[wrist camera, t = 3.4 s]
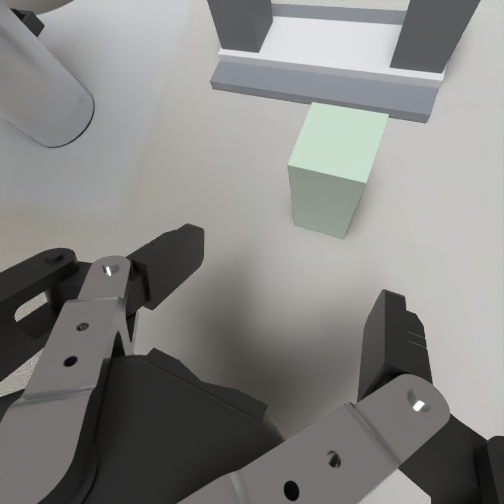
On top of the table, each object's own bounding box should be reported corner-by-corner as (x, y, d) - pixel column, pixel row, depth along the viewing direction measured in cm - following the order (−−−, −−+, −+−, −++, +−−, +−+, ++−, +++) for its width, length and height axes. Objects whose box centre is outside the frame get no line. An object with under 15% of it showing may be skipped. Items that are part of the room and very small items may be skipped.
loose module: (294, 225, 25) (287, 164, 16) (311, 181, 26) (313, 99, 16) (343, 239, 24) (366, 182, 14) (358, 193, 25) (389, 111, 15)
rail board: (212, 88, 31) (173, -10, 22) (249, 11, 34) (227, -109, 24) (425, 122, 25) (494, 4, 16) (455, 24, 27) (531, -130, 18)
